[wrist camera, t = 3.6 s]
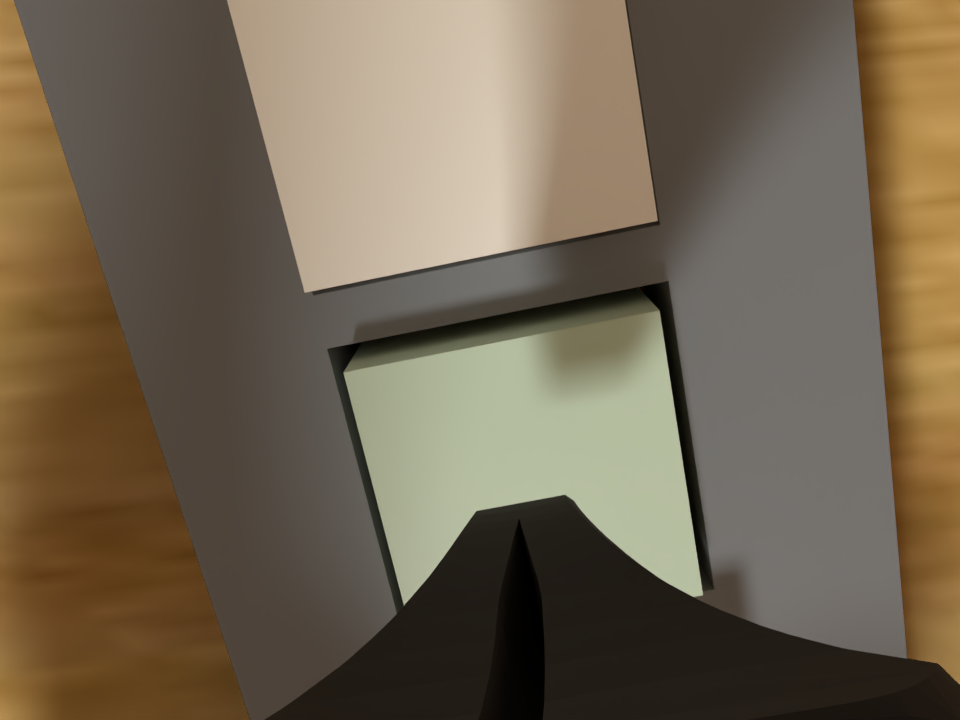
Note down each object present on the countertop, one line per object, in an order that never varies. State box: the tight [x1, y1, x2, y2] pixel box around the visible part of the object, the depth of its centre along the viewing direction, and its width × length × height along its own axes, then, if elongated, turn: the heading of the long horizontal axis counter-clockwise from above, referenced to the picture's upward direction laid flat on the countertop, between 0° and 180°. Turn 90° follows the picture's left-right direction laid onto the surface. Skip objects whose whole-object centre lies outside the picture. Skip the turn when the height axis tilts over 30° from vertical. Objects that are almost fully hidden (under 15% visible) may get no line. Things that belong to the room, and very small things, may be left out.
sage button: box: [343, 287, 703, 605], centre depth 15 cm, size 5×5×3 cm
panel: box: [14, 0, 907, 720], centre depth 16 cm, size 21×12×3 cm, turn 12°
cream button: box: [227, 0, 658, 293], centre depth 12 cm, size 5×5×3 cm
